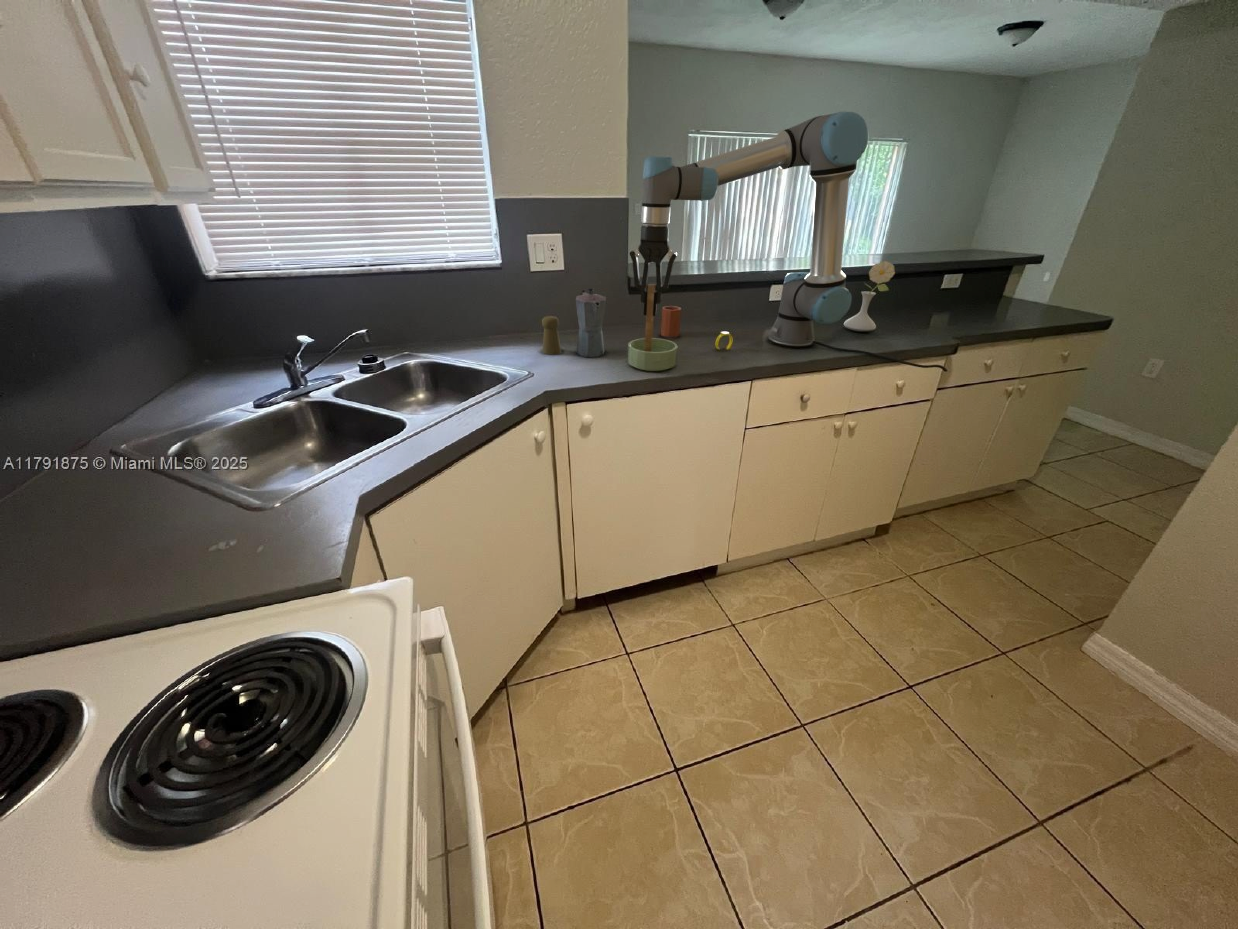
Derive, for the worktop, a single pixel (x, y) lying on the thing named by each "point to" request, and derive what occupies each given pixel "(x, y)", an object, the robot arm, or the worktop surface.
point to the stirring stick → (649, 318)
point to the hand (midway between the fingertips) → (650, 314)
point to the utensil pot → (670, 321)
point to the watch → (724, 335)
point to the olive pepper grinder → (551, 336)
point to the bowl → (652, 354)
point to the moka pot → (590, 324)
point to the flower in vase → (878, 275)
